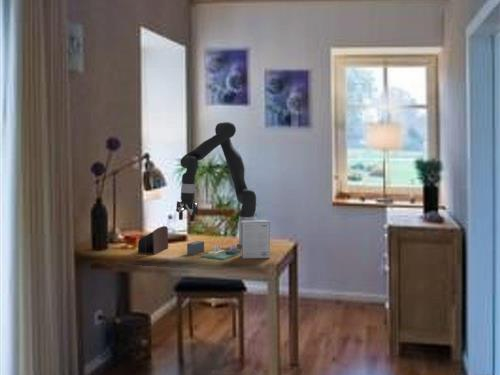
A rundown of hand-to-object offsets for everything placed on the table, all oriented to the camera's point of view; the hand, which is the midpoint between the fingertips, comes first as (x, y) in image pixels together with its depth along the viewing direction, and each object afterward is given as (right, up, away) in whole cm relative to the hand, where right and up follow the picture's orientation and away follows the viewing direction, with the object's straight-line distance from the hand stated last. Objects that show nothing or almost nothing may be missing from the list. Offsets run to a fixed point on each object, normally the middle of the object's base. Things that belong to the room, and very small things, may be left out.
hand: (186, 220), depth 371 cm
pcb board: (+20, -19, -4) cm, 28 cm away
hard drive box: (+39, -20, -8) cm, 44 cm away
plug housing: (+5, -18, +2) cm, 19 cm away
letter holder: (-19, -18, +7) cm, 27 cm away
